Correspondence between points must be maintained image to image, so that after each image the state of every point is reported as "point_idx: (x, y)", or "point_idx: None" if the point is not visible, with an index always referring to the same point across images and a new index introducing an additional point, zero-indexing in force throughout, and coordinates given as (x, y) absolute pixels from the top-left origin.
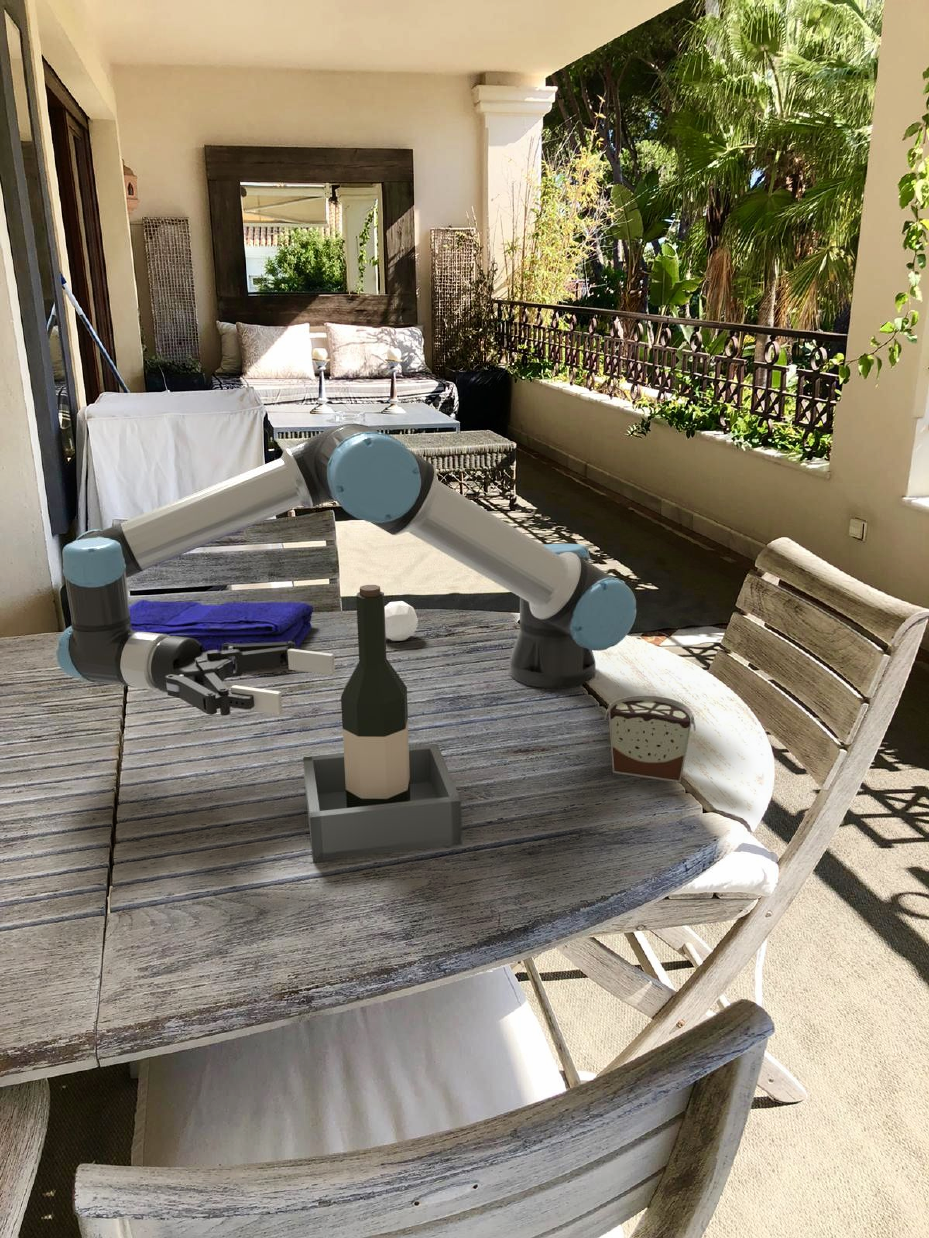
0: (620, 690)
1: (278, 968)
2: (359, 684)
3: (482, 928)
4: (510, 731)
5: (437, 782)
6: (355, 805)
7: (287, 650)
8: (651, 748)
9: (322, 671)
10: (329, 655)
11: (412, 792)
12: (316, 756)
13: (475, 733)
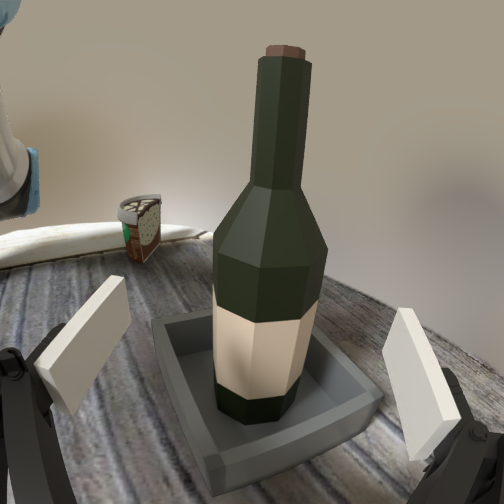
0: (15, 257)
1: (480, 383)
2: (313, 221)
3: (373, 307)
4: (51, 310)
5: (212, 331)
6: (292, 392)
7: (31, 378)
8: (151, 230)
9: (119, 333)
10: (121, 279)
11: (196, 372)
12: (202, 450)
13: (45, 333)
